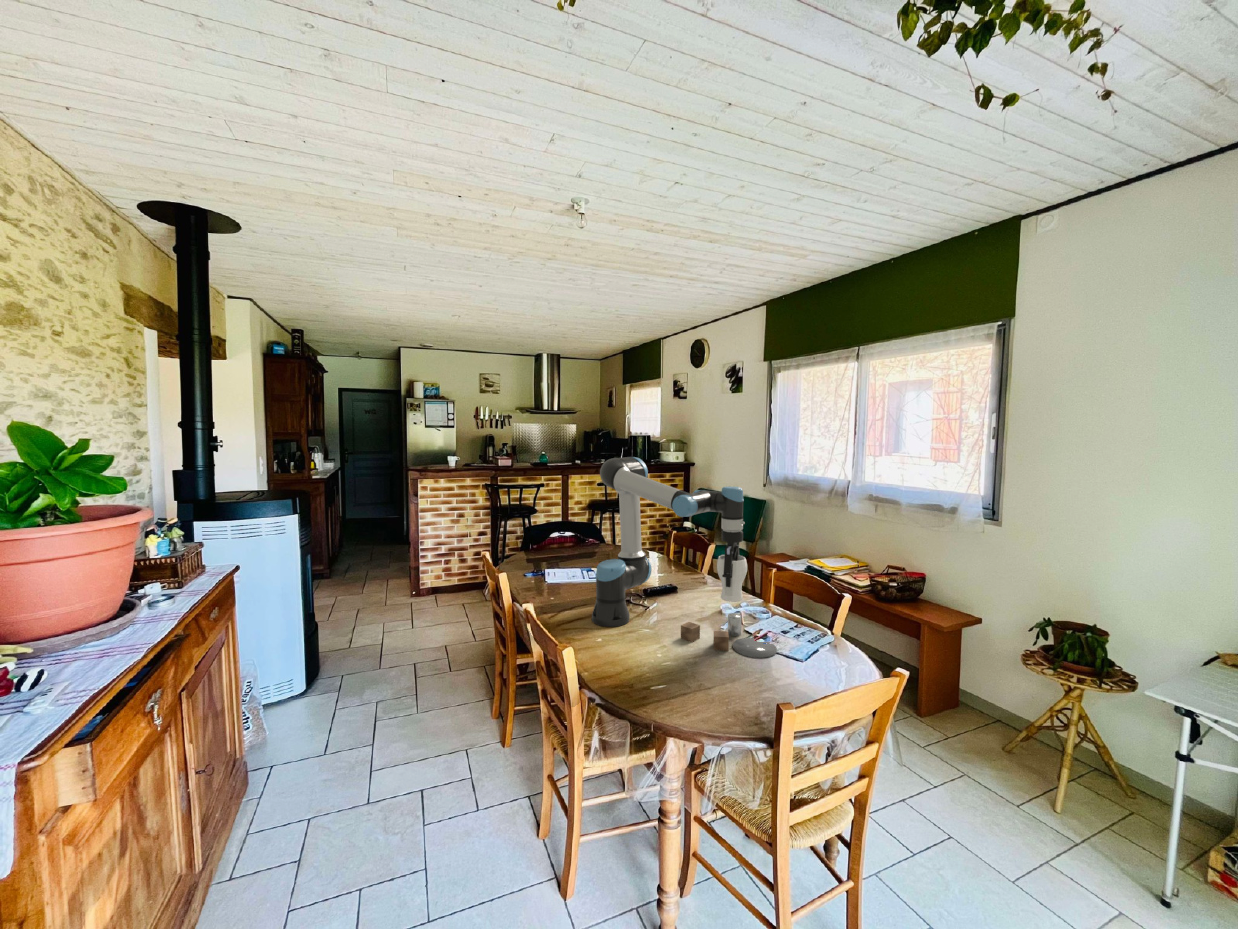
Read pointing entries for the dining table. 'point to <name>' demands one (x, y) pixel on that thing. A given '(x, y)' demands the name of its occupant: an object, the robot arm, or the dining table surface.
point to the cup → (737, 575)
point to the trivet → (754, 648)
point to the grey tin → (734, 624)
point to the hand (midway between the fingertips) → (731, 590)
